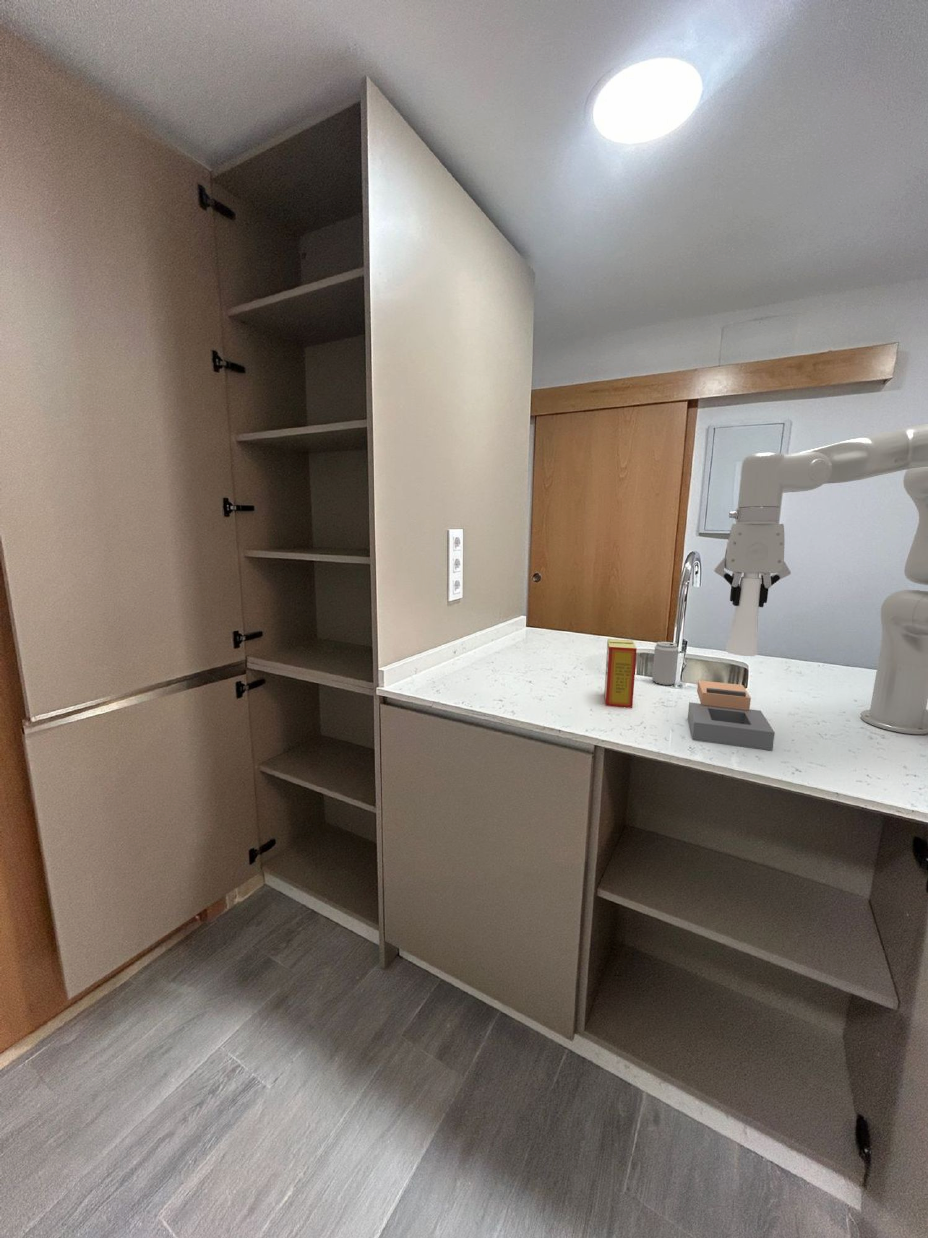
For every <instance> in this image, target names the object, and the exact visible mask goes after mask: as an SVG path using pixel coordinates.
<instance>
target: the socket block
mask: <svg viewBox="0 0 928 1238" xmlns="http://www.w3.org/2000/svg"><path fill="white" fill-rule="evenodd" d="M687 712H688V713H687V721H688V725H689V730H690V734H691V738H692V740H693V741H700V742H707V743H713V744H714V743H715V744H721V745H722V744H723V745H729V746H736V747H743V748H749V749H750V748H751V749H756V750H765V751H771V752H773V747H774V740H775V734H776V733H775V731H774V729H773V727H772V726H771V724H770V723H769V721H768V720H767V718H766V717H765V715H764V713H763V712H762V710H758V709H749V710H742V709H733V708H725V707H716V706H707V705H701V703H698V702H690V701H689V703H688V711H687Z"/></svg>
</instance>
